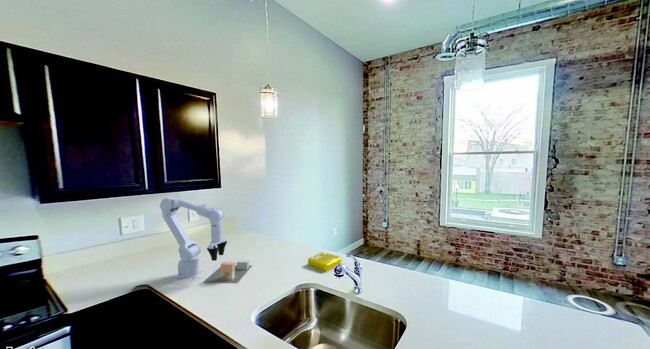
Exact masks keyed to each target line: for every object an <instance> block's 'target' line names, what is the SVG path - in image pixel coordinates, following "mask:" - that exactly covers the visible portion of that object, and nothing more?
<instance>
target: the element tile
mask: <svg viewBox="0 0 650 349" xmlns="http://www.w3.org/2000/svg"><path fill="white" fill-rule="evenodd" d="M337 264H341V265H342V257H341V256H339V255H338V256H337V255H334V254H331V253H328V252H324V251H321V252H319V253H318V254H315V255H314V256H311V257H309V258H307V266H308V267H309V266H310V267H309V268H312V267H313V268H312V269H315V268H316V269H315V270H318V269H319V270H318V271H321V270H323V271H322V272H324V271H327V272H330V271H332V270H333V269H335V268H336V267H335V266H336V265H337ZM334 267H335V268H334ZM331 269H332V270H331ZM329 270H330V271H329Z"/></svg>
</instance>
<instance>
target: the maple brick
mask: <svg viewBox="0 0 650 349" xmlns="http://www.w3.org/2000/svg"><path fill="white" fill-rule="evenodd" d="M234 278H235V270H234V271H233V272H221V280H233V279H234Z"/></svg>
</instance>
